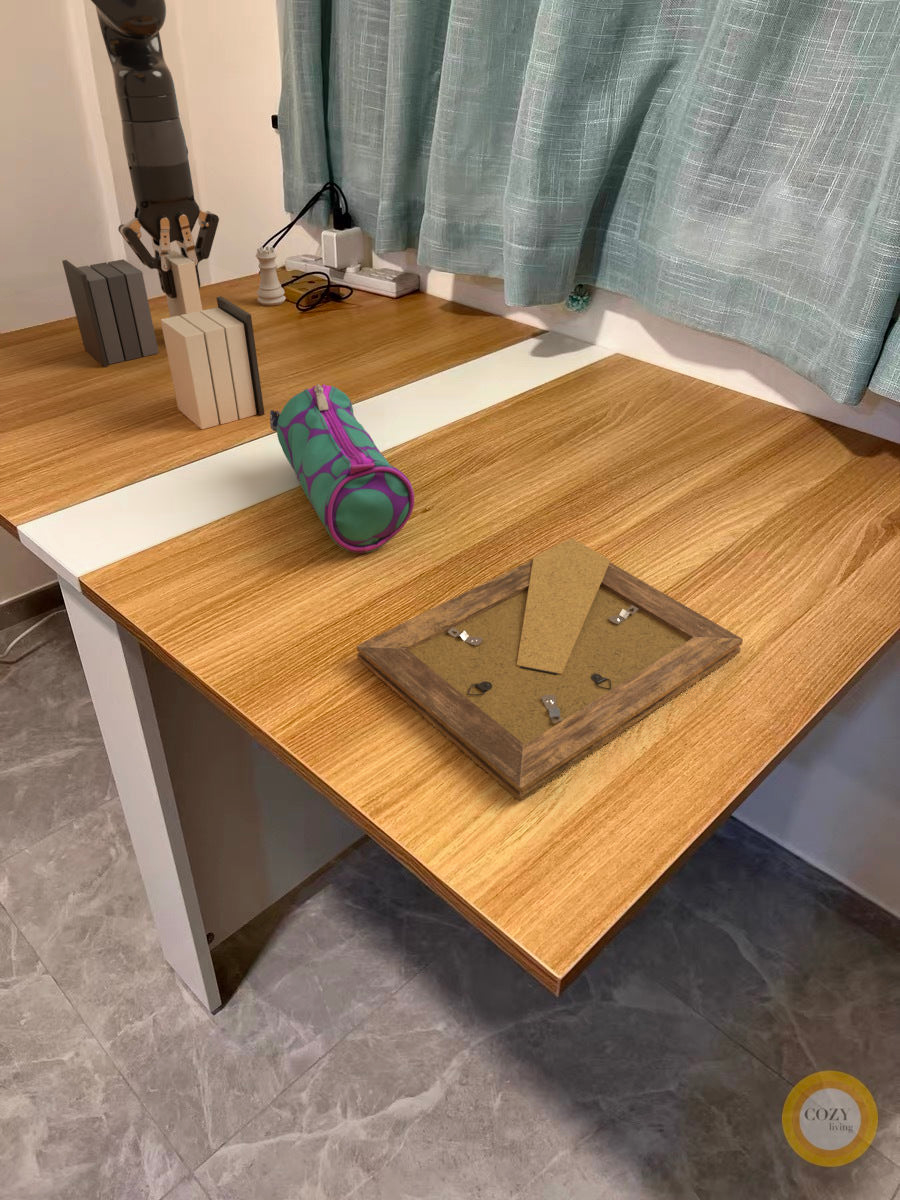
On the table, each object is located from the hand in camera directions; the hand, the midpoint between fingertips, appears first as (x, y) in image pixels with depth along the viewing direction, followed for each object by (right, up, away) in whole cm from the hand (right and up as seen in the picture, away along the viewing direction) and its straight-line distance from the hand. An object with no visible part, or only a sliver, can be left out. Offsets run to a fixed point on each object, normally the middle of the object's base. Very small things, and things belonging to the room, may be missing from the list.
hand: (182, 294), depth 123 cm
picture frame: (+45, -47, -54) cm, 84 cm away
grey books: (-8, -8, -1) cm, 11 cm away
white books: (+9, -20, -17) cm, 28 cm away
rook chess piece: (+9, +4, +16) cm, 19 cm away
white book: (0, -5, +4) cm, 6 cm away
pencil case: (+27, -33, -34) cm, 55 cm away
